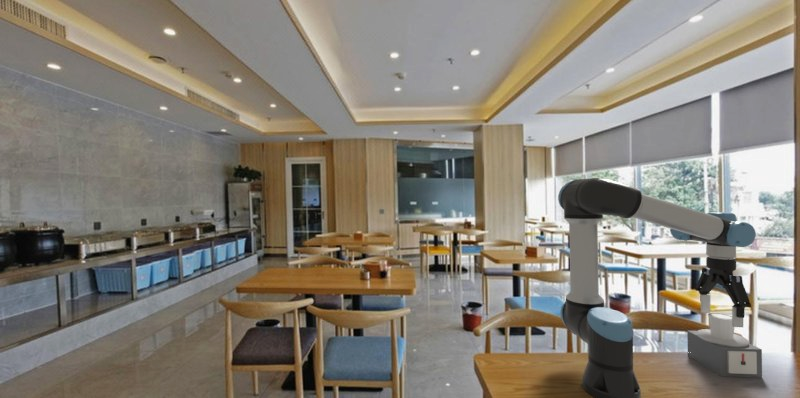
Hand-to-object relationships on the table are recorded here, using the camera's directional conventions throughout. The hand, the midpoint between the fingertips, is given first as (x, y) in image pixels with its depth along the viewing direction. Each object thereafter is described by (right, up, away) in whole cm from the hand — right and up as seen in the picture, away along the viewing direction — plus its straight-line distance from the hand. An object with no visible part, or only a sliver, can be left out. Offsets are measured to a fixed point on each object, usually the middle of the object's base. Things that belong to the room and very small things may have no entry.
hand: (720, 319), depth 119 cm
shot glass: (+1, -6, 0) cm, 6 cm away
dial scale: (+1, -16, 0) cm, 16 cm away
